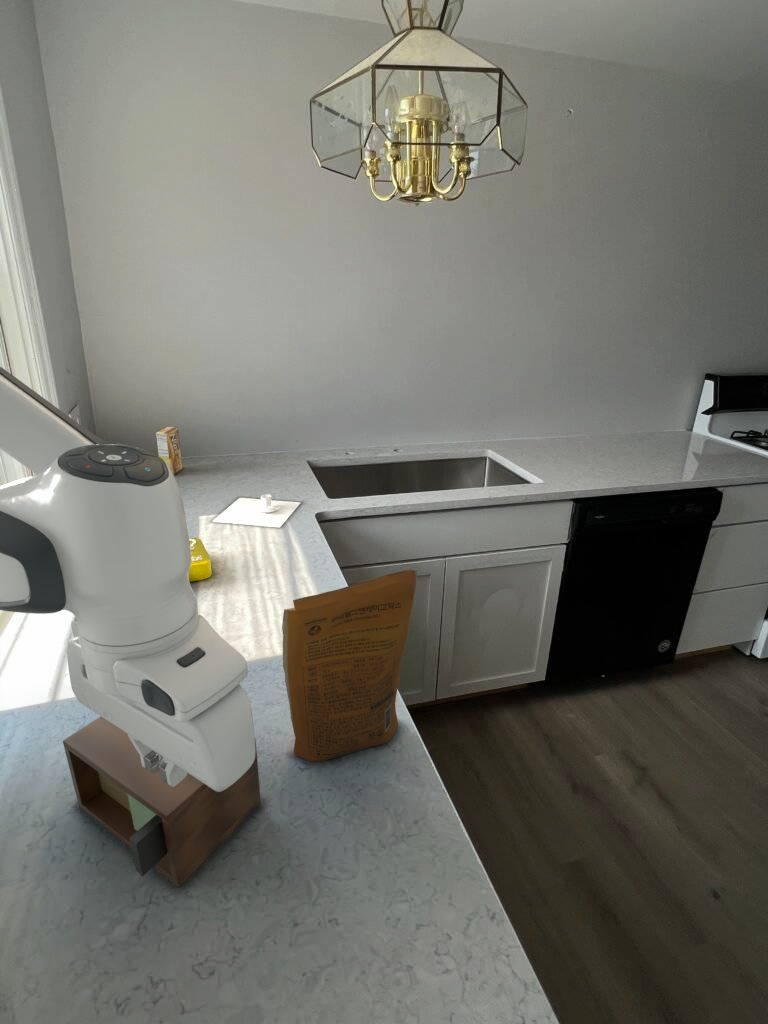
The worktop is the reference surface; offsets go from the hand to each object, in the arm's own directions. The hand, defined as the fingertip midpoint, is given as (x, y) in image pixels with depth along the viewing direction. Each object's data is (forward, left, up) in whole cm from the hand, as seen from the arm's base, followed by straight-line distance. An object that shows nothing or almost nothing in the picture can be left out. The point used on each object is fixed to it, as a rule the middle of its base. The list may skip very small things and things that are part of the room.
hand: (165, 772), depth 50 cm
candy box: (-19, +159, -21) cm, 161 cm away
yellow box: (-10, +82, -21) cm, 85 cm away
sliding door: (-6, +8, -20) cm, 22 cm away
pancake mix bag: (+21, +21, -21) cm, 36 cm away
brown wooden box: (-3, +16, -21) cm, 27 cm away
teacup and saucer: (+10, +116, -21) cm, 118 cm away
